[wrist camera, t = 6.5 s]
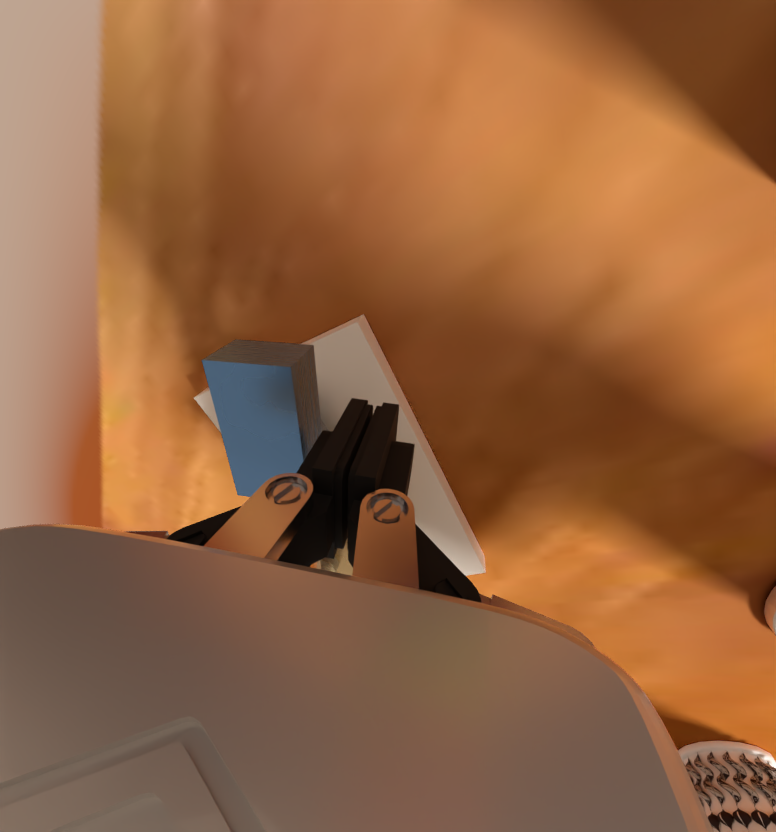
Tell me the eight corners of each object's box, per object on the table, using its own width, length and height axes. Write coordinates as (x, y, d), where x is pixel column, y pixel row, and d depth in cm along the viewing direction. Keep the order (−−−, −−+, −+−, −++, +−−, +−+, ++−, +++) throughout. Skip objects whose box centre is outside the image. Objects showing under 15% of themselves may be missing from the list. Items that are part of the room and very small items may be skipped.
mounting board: (484, 555, 27) (485, 572, 26) (351, 578, 32) (346, 594, 30) (363, 314, 20) (357, 321, 18) (207, 387, 24) (193, 397, 22)
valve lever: (343, 615, 18) (333, 653, 17) (288, 606, 19) (273, 641, 17) (319, 345, 11) (297, 367, 10) (230, 339, 11) (195, 359, 10)
